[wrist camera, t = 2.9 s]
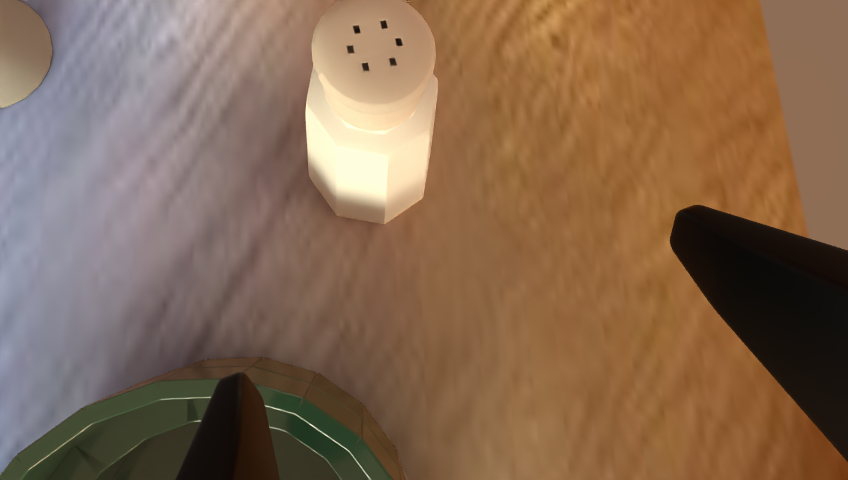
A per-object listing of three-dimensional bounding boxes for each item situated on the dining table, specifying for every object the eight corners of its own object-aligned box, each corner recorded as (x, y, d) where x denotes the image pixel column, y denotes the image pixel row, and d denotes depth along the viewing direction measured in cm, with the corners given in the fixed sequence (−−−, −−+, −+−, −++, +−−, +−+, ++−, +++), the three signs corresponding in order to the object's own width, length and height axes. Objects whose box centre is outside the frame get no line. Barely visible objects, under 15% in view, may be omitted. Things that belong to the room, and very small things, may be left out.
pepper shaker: (416, 96, 22) (463, -84, 12) (443, 212, 22) (519, 140, 11) (296, 117, 22) (225, -53, 11) (322, 238, 21) (276, 188, 10)
